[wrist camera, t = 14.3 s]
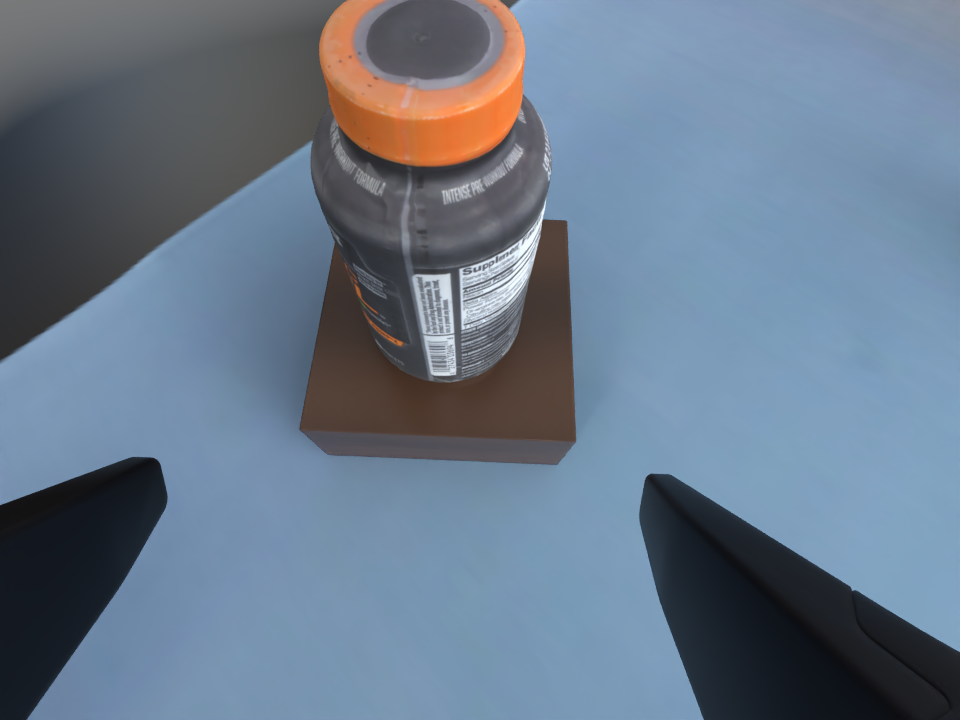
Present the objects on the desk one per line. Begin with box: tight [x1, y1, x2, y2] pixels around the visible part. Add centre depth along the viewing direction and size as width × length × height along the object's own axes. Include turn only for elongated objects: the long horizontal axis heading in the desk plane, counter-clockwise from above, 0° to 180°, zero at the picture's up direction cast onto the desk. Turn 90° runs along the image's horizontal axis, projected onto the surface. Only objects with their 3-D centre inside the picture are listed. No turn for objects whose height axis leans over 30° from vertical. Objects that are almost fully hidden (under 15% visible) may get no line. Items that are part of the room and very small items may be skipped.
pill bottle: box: [311, 0, 552, 382], centre depth 15 cm, size 6×6×11 cm
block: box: [299, 220, 576, 465], centre depth 22 cm, size 10×10×4 cm
